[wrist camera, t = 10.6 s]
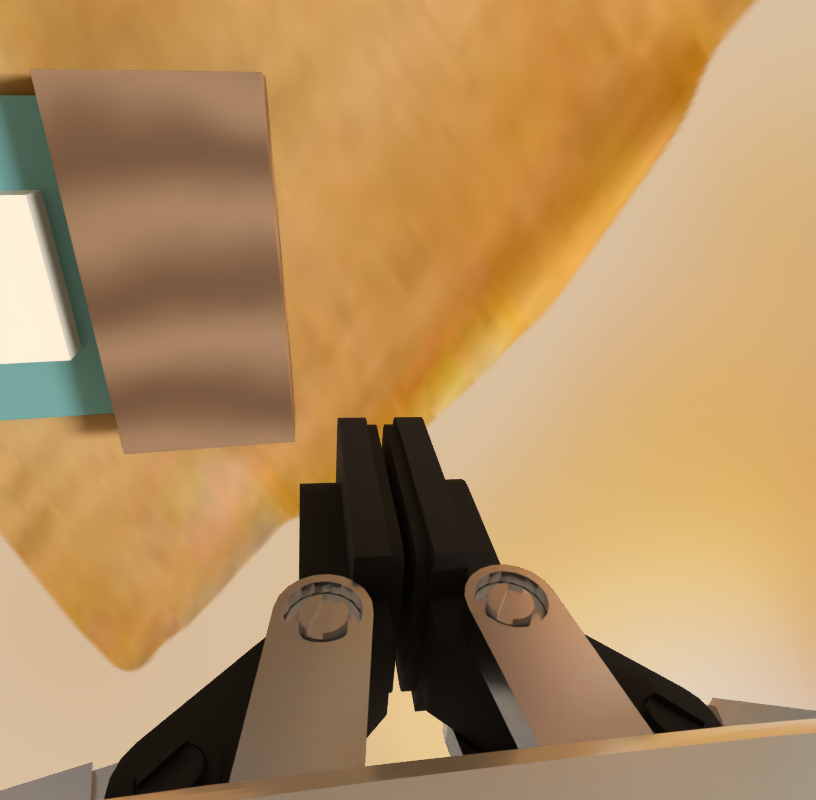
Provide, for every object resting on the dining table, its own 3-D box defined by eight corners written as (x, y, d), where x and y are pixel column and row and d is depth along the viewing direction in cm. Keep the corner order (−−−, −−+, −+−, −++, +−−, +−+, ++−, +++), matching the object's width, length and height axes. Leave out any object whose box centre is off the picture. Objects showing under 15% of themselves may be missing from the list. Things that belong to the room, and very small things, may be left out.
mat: (-119, 94, 29) (-125, 93, 28) (67, 95, 30) (64, 95, 30) (-6, 418, 37) (-9, 421, 36) (137, 408, 38) (136, 411, 38)
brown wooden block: (62, 73, 30) (29, 68, 26) (265, 76, 31) (260, 72, 27) (140, 422, 38) (124, 454, 35) (295, 412, 40) (294, 441, 36)
